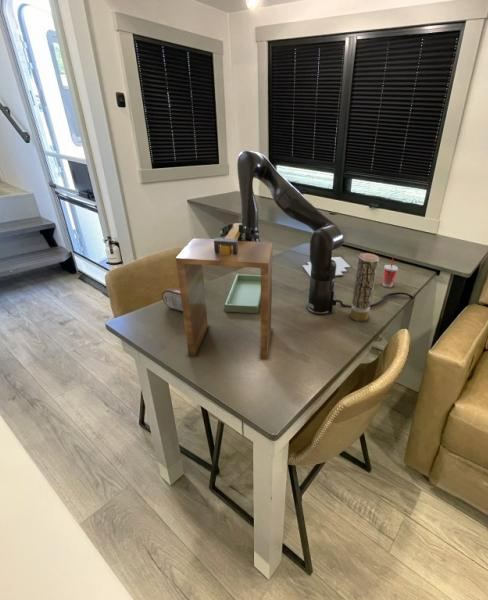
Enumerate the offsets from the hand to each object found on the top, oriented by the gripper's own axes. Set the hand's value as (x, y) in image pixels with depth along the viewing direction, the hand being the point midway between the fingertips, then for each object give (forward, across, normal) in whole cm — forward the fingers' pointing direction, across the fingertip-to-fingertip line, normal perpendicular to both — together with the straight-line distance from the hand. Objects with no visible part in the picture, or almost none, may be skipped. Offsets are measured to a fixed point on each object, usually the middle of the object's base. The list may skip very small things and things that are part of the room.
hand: (235, 227), depth 102 cm
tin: (-22, -22, +27) cm, 42 cm away
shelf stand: (-7, 0, +36) cm, 37 cm away
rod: (+3, 0, +5) cm, 6 cm away
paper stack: (-64, +36, +3) cm, 73 cm away
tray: (-34, 0, +20) cm, 40 cm away
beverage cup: (-48, +63, +12) cm, 80 cm away
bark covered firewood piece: (-23, +45, +27) cm, 57 cm away
